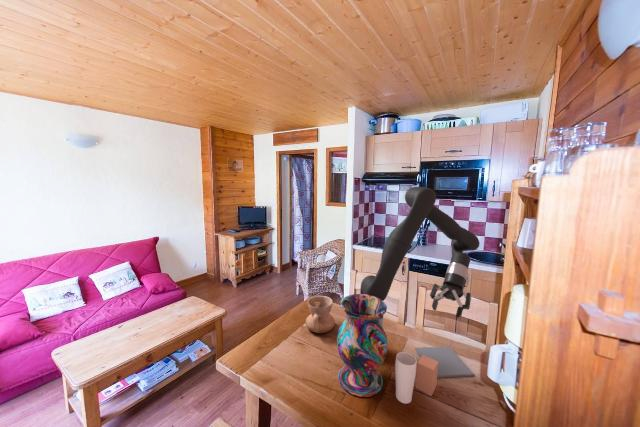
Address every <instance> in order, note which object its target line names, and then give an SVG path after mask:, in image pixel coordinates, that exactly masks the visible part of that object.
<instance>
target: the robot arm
mask: <svg viewBox="0 0 640 427" xmlns="http://www.w3.org/2000/svg"><path fill="white" fill-rule="evenodd" d="M404 201H405V203H406V204H407V206H408V207H410V210H409V211H408V213H407V215H406V217H405V218H404V219H403V221H401V222H400V223H399V224H398V225H397V226H396V227H395V228H394V229H393V230H392V231H391V232H390V233H389V235H388V236H387V239H386V240H385V243H384V245H383V248H382V252H381V258H380V265H379V267H378V270H377V272H376V274H375V275H372V274H371V275H370V274H369V275H367V276H365V277H364V278H363V279H362V280H361V283H360V290H359V291H360V292H359V294H366V295H371V296H374V297H377V298H379V299H381V300H382V301H383V302H384V301H385V300H386V298H387V297H388V294H389V293H390V289H391V287H392V284H393V282H394V279H395V277H396V274H397V273H398V271H399V269H400V267H401V264H402V263H403V261H404V259H405V256H407V253H408V252H409V249H410V248H411V245H412V243H413V241H414V240H415V237H416V235H417V233H418V232H419V230H420V228H421V227H422V225H423V224H424V222H425V220H426V219H427V220H429V222H431V223H432V224H433V225H434V226H435V227H436V228H437V229H438V230H439V231H440V232H441V233H442V234H443V235H445V237H447V238H448V239H449V240H451V257H450V261H449V265H448V266H447V269H446V272H445V276H444V280H443V282H442V285H438V284H437V283H434V284H433V287H432V289H431V291H430V293H429V297H430V298H431V299H432V300H433V301H432V304H431V307H432V310H434V311H437V308H438V305H439V301H441V300H443V299H446V300H451V301H453V302H455V301H456V302H457V304H458V306H457V310H456V314H455V317H456V319H460V318H461V317H462V315H463V311H464V310H470V308H471V307H470V306H471V302H472V301H471V300H472V295H471V293H470V292H464V289H465V284H466V280H467V278H468V277H467V276H468V270H469V266H470V263H471V257H470V255H468V254H467V253H464V252H466V251H467V252H470V251H477V249H479V247H480V240H479V238H478V236H476V234H474V233H473V232H471V231H470V230H467V229H466V228H464V227H462V226H461V225H460V224H459V223H458V222H457V221H456V220H455V219H454V218H453V217H451V216H450V214H449V215H448V214H447V213H445V212H444V211H442V210H441V209H439V208H438V207H437V206H436V205H435V204H436V201H437V196H436V192H435V190H434V189H432V188H429V187H424V186H412V187H409V189H408V190H406V192H405V195H404ZM439 290H440V292H439V293H438V294H437V292H438V291H439ZM462 297H464V300H465V302H464V304H463V302H461V300H460V299H461V298H462ZM379 321H380V323H381V325H382V327H383V328H384V315H382V316H381V317H380V320H379Z"/></svg>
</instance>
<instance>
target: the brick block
mask: <svg viewBox="0 0 640 427" xmlns="http://www.w3.org/2000/svg"><path fill="white" fill-rule="evenodd" d="M437 373H438V361H436V360H434V359H431V358H429V357H427V356H425V355H422V357H421V358H420V357H419V360H417V369H416V376H415V388H416V390H417V389H418V391H421V392H423V393H424V394H426V395H428V396H431V397H432V395H433V394H434V392H435V391H436V388H437V383H438V382H437V380H438V378H437Z"/></svg>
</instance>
